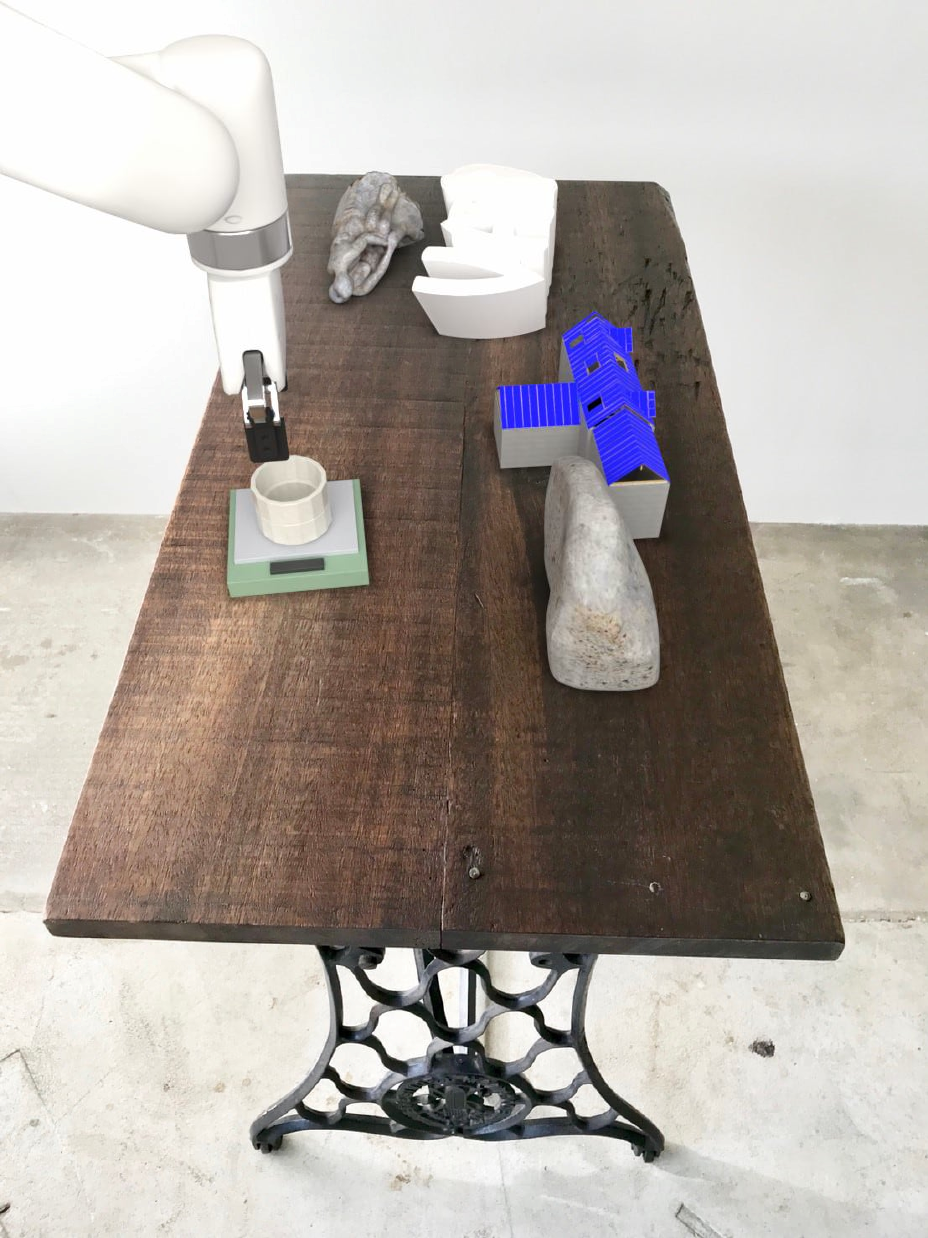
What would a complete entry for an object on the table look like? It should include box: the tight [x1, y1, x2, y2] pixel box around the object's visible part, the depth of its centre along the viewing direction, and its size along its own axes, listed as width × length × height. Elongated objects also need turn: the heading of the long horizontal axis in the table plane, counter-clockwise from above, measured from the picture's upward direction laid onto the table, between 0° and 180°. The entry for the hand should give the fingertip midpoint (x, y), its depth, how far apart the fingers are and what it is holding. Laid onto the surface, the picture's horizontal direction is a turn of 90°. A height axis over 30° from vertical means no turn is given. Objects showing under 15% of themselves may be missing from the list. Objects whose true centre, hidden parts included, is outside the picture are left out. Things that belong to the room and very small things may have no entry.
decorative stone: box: [543, 456, 661, 692], centre depth 82 cm, size 17×20×10 cm
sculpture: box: [326, 170, 426, 304], centre depth 125 cm, size 11×18×12 cm
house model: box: [493, 310, 671, 540], centre depth 100 cm, size 25×15×10 cm, turn 5°
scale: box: [226, 478, 370, 598], centre depth 94 cm, size 13×13×3 cm
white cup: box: [250, 454, 332, 545], centre depth 91 cm, size 7×7×6 cm
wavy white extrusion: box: [411, 163, 559, 340], centre depth 123 cm, size 35×16×10 cm, turn 170°
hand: (270, 423), depth 83 cm, fingers open, 9 cm apart
